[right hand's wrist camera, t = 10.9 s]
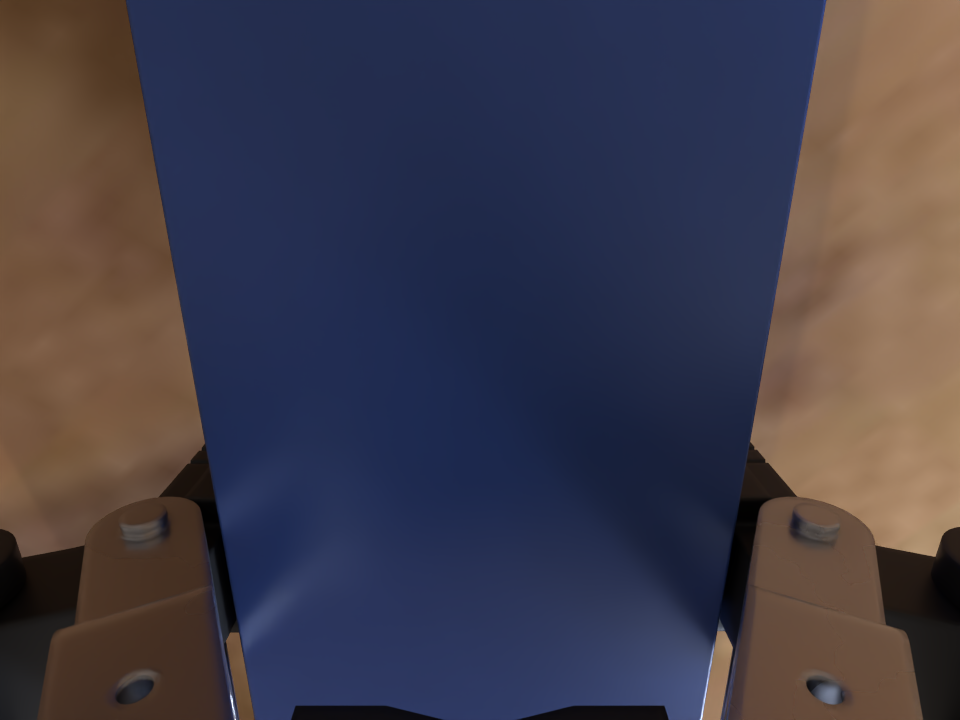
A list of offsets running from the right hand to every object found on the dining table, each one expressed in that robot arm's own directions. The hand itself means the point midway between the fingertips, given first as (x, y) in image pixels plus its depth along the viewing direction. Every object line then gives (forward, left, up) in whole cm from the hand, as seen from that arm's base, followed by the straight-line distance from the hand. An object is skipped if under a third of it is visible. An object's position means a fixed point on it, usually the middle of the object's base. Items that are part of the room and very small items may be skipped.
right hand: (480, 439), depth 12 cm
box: (+6, +7, -6) cm, 11 cm away
